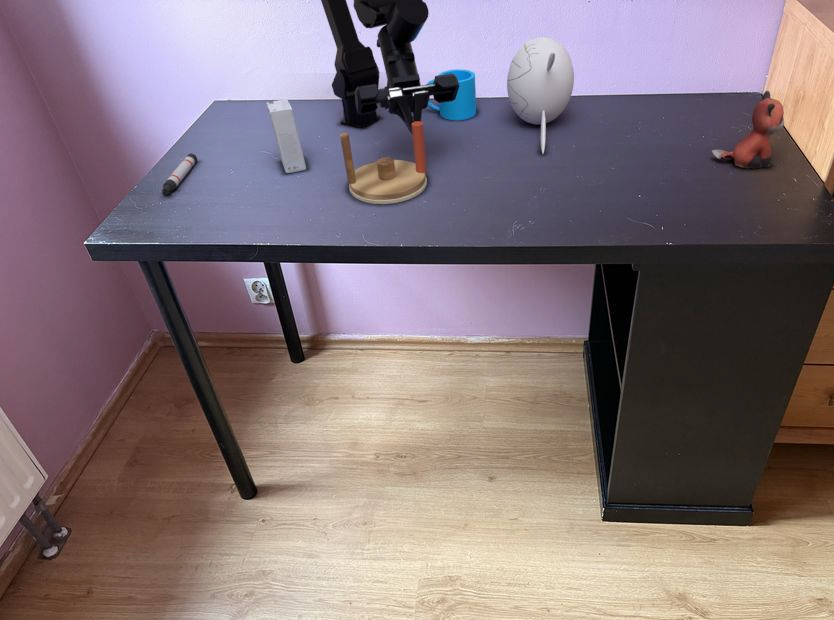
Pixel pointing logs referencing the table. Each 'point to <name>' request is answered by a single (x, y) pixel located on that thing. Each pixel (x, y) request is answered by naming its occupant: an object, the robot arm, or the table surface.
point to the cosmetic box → (286, 135)
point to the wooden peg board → (387, 171)
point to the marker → (179, 173)
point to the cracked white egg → (540, 82)
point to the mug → (459, 97)
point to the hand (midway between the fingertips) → (417, 138)
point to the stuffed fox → (757, 136)
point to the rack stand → (389, 201)
